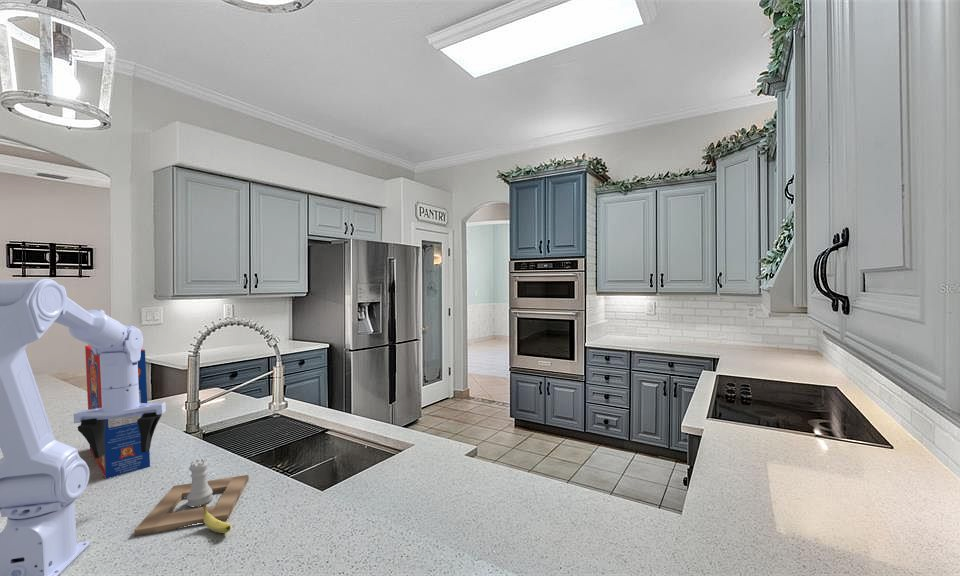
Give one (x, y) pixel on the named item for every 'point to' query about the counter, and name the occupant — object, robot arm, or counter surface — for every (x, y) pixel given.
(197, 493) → the rook chess piece
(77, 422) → the robot arm
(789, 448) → the counter surface
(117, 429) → the blue and red box
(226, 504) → the walnut socket board
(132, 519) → the counter surface
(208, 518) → the banana
